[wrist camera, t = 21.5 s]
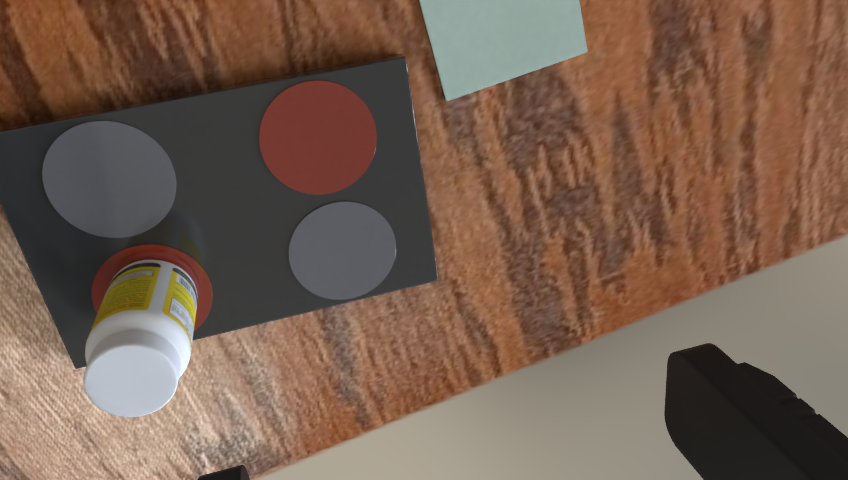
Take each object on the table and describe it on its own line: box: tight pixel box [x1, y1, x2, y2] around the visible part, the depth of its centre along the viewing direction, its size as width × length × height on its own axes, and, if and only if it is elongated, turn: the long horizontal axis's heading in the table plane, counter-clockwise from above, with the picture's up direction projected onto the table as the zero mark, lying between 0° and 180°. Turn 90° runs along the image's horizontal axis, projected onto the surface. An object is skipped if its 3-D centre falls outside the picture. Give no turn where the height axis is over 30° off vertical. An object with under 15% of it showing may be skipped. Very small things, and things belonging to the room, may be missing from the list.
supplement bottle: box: [84, 260, 198, 417], centre depth 33 cm, size 5×5×8 cm
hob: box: [0, 54, 438, 369], centre depth 37 cm, size 14×22×1 cm, turn 98°
